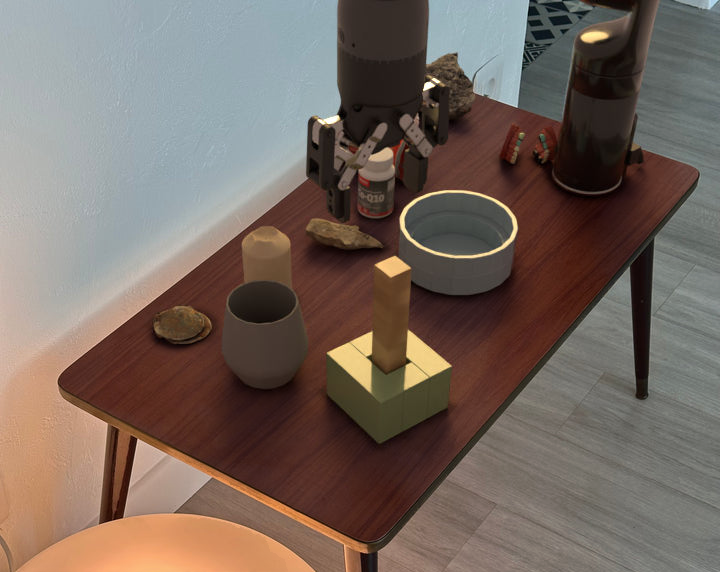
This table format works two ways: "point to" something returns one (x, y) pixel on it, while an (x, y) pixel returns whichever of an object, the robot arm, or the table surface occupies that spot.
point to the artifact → (340, 235)
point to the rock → (453, 84)
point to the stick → (390, 314)
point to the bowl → (457, 241)
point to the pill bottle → (377, 185)
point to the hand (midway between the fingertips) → (377, 203)
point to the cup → (264, 333)
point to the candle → (267, 256)
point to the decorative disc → (181, 325)
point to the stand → (387, 386)
